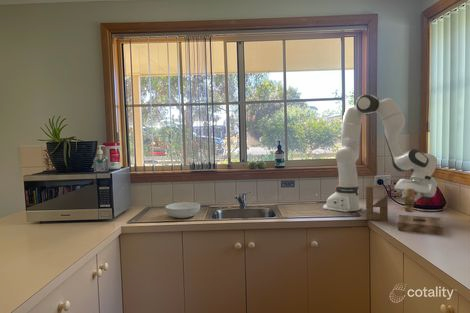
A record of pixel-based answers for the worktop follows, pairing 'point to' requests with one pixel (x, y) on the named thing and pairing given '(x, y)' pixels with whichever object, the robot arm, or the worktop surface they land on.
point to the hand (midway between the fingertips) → (408, 199)
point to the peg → (409, 199)
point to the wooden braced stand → (381, 203)
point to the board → (420, 224)
